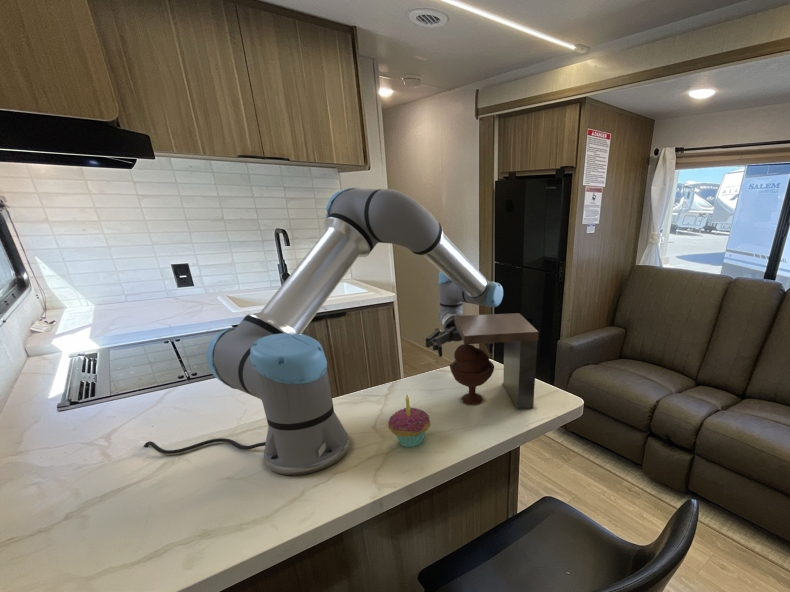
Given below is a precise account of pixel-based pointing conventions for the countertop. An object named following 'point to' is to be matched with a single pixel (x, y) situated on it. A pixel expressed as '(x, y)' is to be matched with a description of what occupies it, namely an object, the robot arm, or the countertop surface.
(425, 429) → the cupcake
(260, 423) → the countertop surface
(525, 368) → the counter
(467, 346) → the ice cream bowl
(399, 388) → the countertop surface
